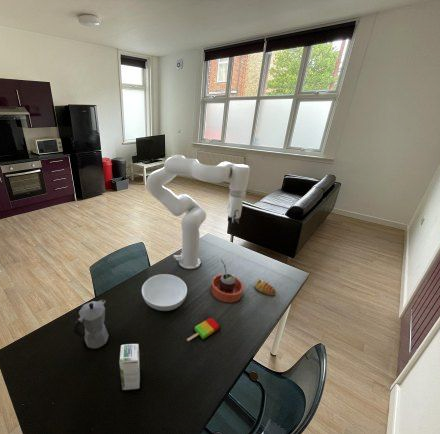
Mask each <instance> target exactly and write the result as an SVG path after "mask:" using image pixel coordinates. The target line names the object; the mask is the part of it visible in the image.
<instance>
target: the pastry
mask: <svg viewBox="0 0 440 434" xmlns="http://www.w3.org/2000/svg"><path fill="white" fill-rule="evenodd" d="M254 288H255V289H256V291H258V292H260V293H262V294H264V295H268V296H274V295H275V294H276V292H277V290H276V289H275V288H274V286H273V285H272V284H271V283H269V282H268V281H266V280H262V279H260V278H259V279H258V280H257V281H256V282H255V284H254Z"/></svg>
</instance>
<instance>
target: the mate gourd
mask: <svg viewBox="0 0 440 434" xmlns="http://www.w3.org/2000/svg"><path fill="white" fill-rule="evenodd" d="M220 261H221V263H222V264H223V268H224V273H223V274H224V275H223V276H222V277H221V279H220V290H224V291H225V293H227V291H230V292H233V289H234V286H235V279H234V277H235V276H234V275H232V274H230V273H227V266H226V264H225V262H224V261H223V259H222V258H221V259H220ZM233 276H234V277H233Z"/></svg>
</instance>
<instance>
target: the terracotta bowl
mask: <svg viewBox="0 0 440 434" xmlns="http://www.w3.org/2000/svg"><path fill="white" fill-rule="evenodd" d="M224 274H225V273H222V274H217V275H215V276H214V277H213V278H212V279H211V285H210V291H211V294H212V295H213V296H214V297H215V298H216V299H217V300H219V301H220V302H223V303H230V304H231V303H236V302H238V301H239V300H240V299H241V298H242V296H243V291H244V285H243V282H242V281H241V280H240V279H239V278H238V277H236V276H234V275H232V276H233V277H234V279H235V286H234V289H233V292H230V291H227V293H225V291H224V290H220V279H221V277H222V276H223V275H224Z"/></svg>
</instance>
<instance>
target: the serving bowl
mask: <svg viewBox="0 0 440 434" xmlns="http://www.w3.org/2000/svg"><path fill="white" fill-rule="evenodd" d="M187 286H188V285H187V284H186V283H185V281H184V280H183V279H182V278H180V277H179V276H176V275H174V274H168V273H161V274H160V273H159V274H156V275H153V276H150V277H149V278H148V279H146V280H145V282H144V283H143V284H142V286H141V295H142V298H143V301H144V302H145V303H146V304H147V306H149V307H150V308H151V309H154V310H155V311H159V312H160V311H161V312H169V311H173V310H175V309H177V308H178V307H180V306H181V305H182V304H183V303H184V301H185V300H186V298H187V295H188V287H187Z"/></svg>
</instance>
